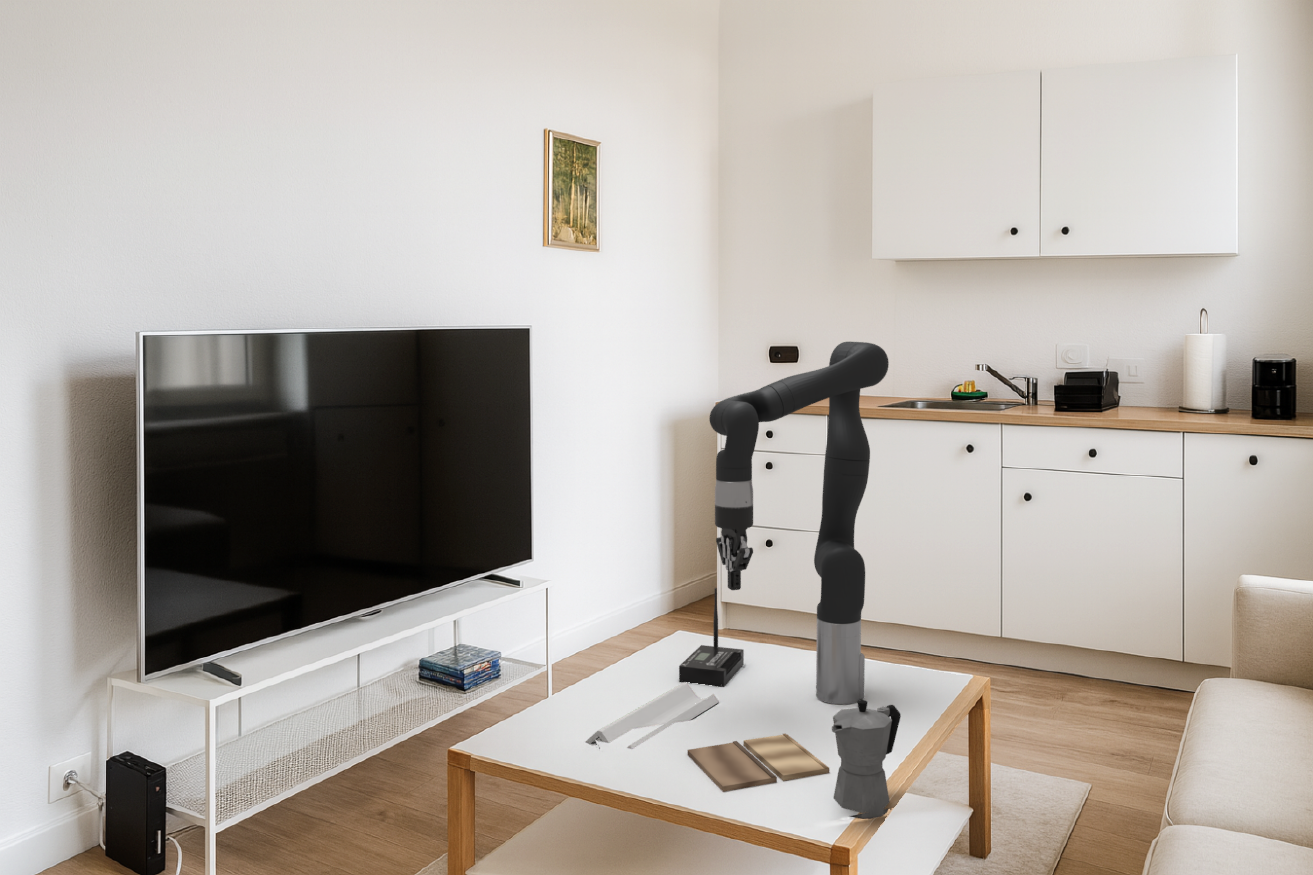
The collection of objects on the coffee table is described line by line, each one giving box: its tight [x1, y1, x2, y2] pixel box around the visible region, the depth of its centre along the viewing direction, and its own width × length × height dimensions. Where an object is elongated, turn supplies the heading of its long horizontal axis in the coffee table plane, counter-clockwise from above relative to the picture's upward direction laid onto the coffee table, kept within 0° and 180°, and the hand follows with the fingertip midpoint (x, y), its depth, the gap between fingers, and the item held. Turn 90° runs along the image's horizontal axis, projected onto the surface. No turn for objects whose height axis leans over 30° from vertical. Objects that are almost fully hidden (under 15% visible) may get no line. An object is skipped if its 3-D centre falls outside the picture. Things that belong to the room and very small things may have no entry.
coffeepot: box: [831, 699, 902, 820], centre depth 166 cm, size 15×9×18 cm, turn 125°
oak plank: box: [742, 733, 830, 782], centre depth 183 cm, size 16×9×2 cm, turn 20°
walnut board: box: [687, 740, 778, 793], centre depth 179 cm, size 10×16×2 cm, turn 20°
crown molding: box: [585, 682, 720, 750], centre depth 203 cm, size 31×12×4 cm, turn 147°
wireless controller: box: [678, 587, 745, 688], centre depth 233 cm, size 20×14×17 cm
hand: (734, 589), depth 200 cm, fingers closed
